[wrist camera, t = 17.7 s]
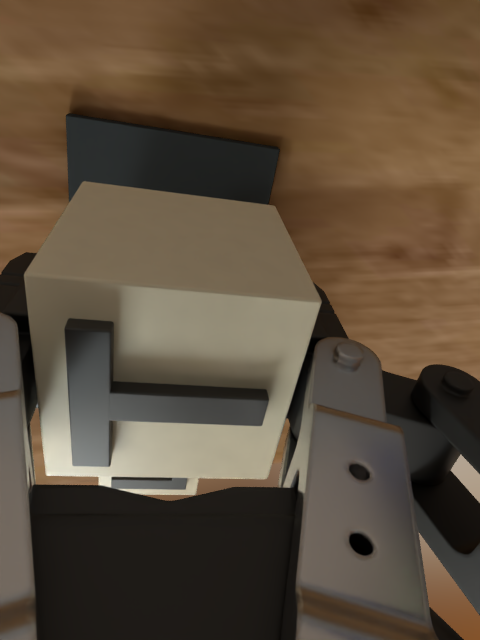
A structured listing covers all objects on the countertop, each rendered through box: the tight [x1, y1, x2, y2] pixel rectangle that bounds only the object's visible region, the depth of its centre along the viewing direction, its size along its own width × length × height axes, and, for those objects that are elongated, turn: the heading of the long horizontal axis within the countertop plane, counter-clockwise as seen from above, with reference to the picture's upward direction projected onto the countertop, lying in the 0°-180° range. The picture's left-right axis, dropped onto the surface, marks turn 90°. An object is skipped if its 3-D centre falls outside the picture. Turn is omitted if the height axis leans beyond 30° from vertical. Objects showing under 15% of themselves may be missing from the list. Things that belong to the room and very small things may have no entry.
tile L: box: [99, 476, 199, 495], centre depth 22 cm, size 5×5×5 cm
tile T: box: [24, 181, 322, 479], centre depth 10 cm, size 5×5×5 cm
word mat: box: [66, 113, 280, 205], centre depth 21 cm, size 15×8×1 cm, turn 170°
